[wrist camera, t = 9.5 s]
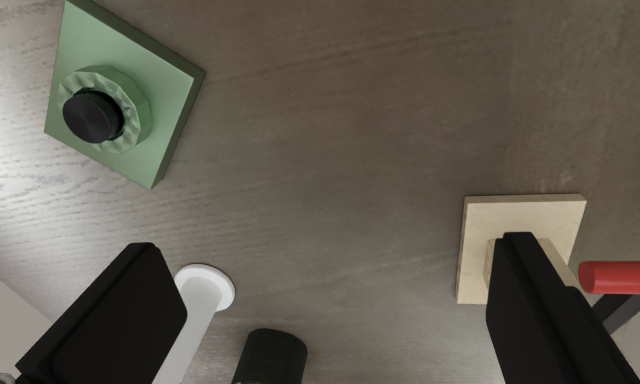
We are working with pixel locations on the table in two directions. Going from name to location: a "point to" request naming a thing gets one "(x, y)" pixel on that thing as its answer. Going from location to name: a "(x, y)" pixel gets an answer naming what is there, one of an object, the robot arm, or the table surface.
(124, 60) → the button box
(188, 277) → the candle
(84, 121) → the button
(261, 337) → the sushi
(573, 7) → the table surface
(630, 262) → the lever
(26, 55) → the table surface
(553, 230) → the bracket
